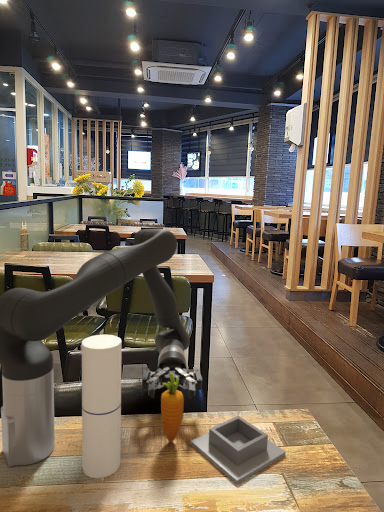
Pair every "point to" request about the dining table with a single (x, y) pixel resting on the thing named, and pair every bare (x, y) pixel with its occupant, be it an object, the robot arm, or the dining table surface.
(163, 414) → the carrot
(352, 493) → the dining table surface
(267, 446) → the sleeve stand
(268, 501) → the dining table surface
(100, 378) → the cylindrical container
